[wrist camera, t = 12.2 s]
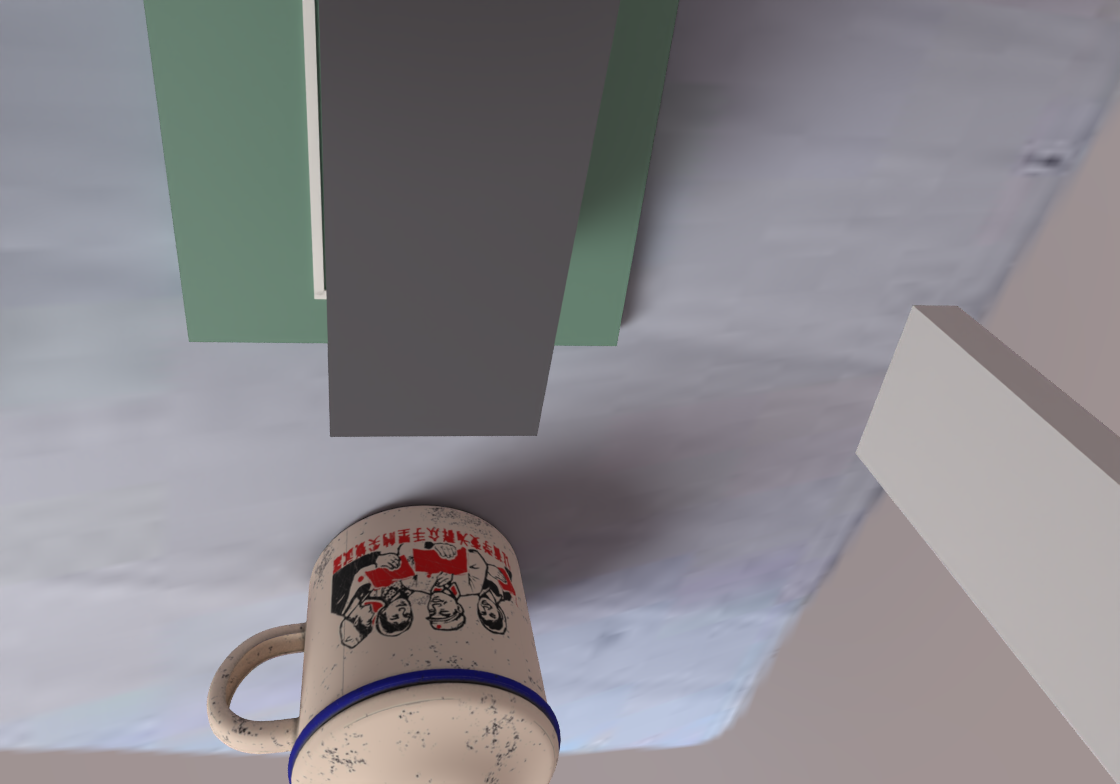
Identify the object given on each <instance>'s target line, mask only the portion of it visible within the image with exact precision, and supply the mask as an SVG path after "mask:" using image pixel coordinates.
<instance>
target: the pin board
mask: <svg viewBox="0 0 1120 784" xmlns="http://www.w3.org/2000/svg"><path fill="white" fill-rule="evenodd" d="M678 3H679V0H620V5H619V11H618V16H617V21H616V26H615V31H614V37H613V42H612V47H611V52H610V57H609V63H608V68H607V73H606V78H605V83H604V89H603V94H602V99H601V104H600V109H599V115H598V120H597V125H596V130H595V135H594V141H593V146H592V151H591V156H590V162H589V167H588V172H587V177H586V182H585V188H584V193H583V198H582V203H581V208H580V214H579V219H578V224H577V229H576V234H575V240H574V245H573V250H572V255H571V260H570V266H569V271H568V276H567V281H566V286H565V292H564V297H563V302H562V307H561V312H560V318H559V323H558V328H557V333H556V339H555V344H554V345H563V346H617V341H618V336H619V330H620V325H621V319H622V313H623V308H624V302H625V297H626V291H627V286H628V280H629V275H630V269H631V264H632V258H633V253H634V247H635V241H636V236H637V230H638V225H639V219H640V214H641V208H642V203H643V197H644V192H645V186H646V181H647V175H648V169H649V164H650V158H651V153H652V147H653V142H654V136H655V131H656V125H657V120H658V114H659V109H660V103H661V97H662V92H663V86H664V81H665V75H666V70H667V64H668V59H669V53H670V48H671V42H672V37H673V31H674V25H675V20H676V14H677V9H678ZM144 8H145V15H146V23H147V30H148V38H149V45H150V53H151V60H152V68H153V75H154V83H155V90H156V98H157V105H158V113H159V120H160V128H161V135H162V143H163V150H164V158H165V165H166V173H167V180H168V188H169V195H170V203H171V210H172V218H173V225H174V233H175V240H176V248H177V255H178V263H179V270H180V278H181V285H182V293H183V300H184V308H185V315H186V323H187V330H188V338H189V342H253V343H328V335H327V297H326V259H325V220H324V182H323V144H322V105H321V67H320V29H319V0H144Z"/></svg>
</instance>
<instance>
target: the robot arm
mask: <svg viewBox="0 0 1120 784" xmlns="http://www.w3.org/2000/svg"><path fill="white" fill-rule="evenodd" d="M856 454H857V456H858V457H859V458H860V459H861V461H862V462H863V463H864V464H865V466H866V467H867V468H868V469H869V471H870V472H871V473H872V475H873V476H874V477H875V478H876V480H877V481H878V482H879V483H880V485H881V486H882V487H883V488H884V490H885V491H886V492H887V494H888V495H889V496H890V497H891V498H892V500H893V501H894V502H895V504H896V505H897V506H898V507H899V509H900V510H901V511H902V512H903V514H904V515H905V516H906V518H907V519H908V520H909V521H910V523H911V524H912V525H913V526H914V528H915V529H916V530H917V531H918V533H919V534H920V535H921V537H922V538H923V539H924V540H925V542H926V543H927V544H928V545H929V547H930V548H931V549H932V550H933V552H934V553H935V554H936V555H937V557H938V558H939V559H940V560H941V562H942V563H943V564H944V566H945V567H946V568H947V569H948V571H949V572H950V573H951V574H952V575H953V577H954V578H955V579H956V581H957V582H958V583H959V584H960V586H961V587H962V588H963V590H964V591H965V592H966V593H967V595H968V596H969V597H970V598H971V600H972V601H973V602H974V604H975V605H976V606H977V607H978V609H979V610H980V611H981V612H982V613H983V615H984V616H985V617H986V619H987V620H988V621H989V623H990V624H991V625H992V626H993V628H994V629H995V630H996V631H997V633H998V634H999V635H1000V636H1001V638H1002V639H1003V640H1004V641H1005V643H1006V644H1007V645H1008V647H1009V648H1010V649H1011V650H1012V652H1013V653H1014V654H1015V655H1016V657H1017V658H1018V659H1019V660H1020V662H1021V663H1022V664H1023V665H1024V667H1025V668H1026V669H1027V671H1028V672H1029V673H1030V674H1031V676H1032V677H1033V678H1034V679H1035V681H1036V682H1037V683H1038V685H1040V687H1041V688H1042V690H1043V691H1044V692H1045V693H1046V695H1047V696H1048V697H1049V698H1050V700H1051V701H1052V702H1053V703H1054V705H1055V706H1056V707H1057V708H1058V710H1059V711H1060V712H1061V714H1062V715H1063V716H1064V717H1065V719H1066V720H1067V721H1068V722H1069V724H1070V725H1071V726H1072V727H1073V729H1074V730H1075V731H1076V733H1077V734H1078V735H1079V736H1080V738H1081V739H1082V740H1083V741H1084V743H1085V744H1086V745H1087V746H1088V748H1089V749H1090V750H1091V751H1092V753H1093V754H1094V755H1095V757H1096V758H1097V759H1098V760H1099V762H1100V763H1101V764H1102V765H1103V767H1104V768H1105V769H1106V771H1107V772H1108V773H1109V774H1110V776H1111V777H1112V778H1113V779H1114V781H1115V782H1116V783H1117V784H1120V437H1119V436H1118V435H1116V434H1115V433H1114V432H1113V431H1112V430H1110V429H1109V428H1108V427H1107V426H1105V425H1104V424H1103V423H1102V422H1100V421H1099V420H1098V419H1097V418H1095V417H1094V416H1093V415H1092V414H1090V413H1089V412H1088V411H1087V410H1086V409H1084V408H1083V407H1082V406H1080V405H1079V404H1078V403H1077V402H1076V401H1074V400H1073V399H1072V398H1071V397H1069V396H1068V395H1067V394H1066V393H1065V392H1063V391H1062V390H1061V389H1060V388H1058V387H1057V386H1056V385H1055V384H1053V383H1052V382H1051V381H1050V380H1048V379H1047V378H1046V377H1045V376H1043V375H1042V374H1041V373H1040V372H1038V371H1037V370H1036V369H1035V368H1033V367H1032V366H1031V365H1030V364H1029V363H1027V362H1026V361H1025V360H1024V359H1022V358H1021V357H1020V356H1019V355H1018V354H1016V353H1015V352H1014V351H1012V350H1011V349H1010V348H1009V347H1007V346H1006V345H1005V344H1004V343H1003V342H1001V341H1000V340H999V339H998V338H996V337H995V336H994V335H993V334H991V333H990V332H989V331H988V330H987V329H985V328H984V327H983V326H982V325H980V324H979V323H978V322H977V321H975V320H974V319H973V318H972V317H970V316H969V315H968V314H967V313H966V312H964V311H963V310H962V309H961V308H959V307H958V306H926V305H913V306H912V309H911V312H910V314H909V317H908V319H907V322H906V324H905V327H904V330H903V332H902V335H901V337H900V340H899V342H898V345H897V348H896V350H895V353H894V355H893V358H892V360H891V363H890V366H889V368H888V371H887V373H886V376H885V378H884V381H883V384H882V386H881V389H880V391H879V394H878V396H877V399H876V402H875V404H874V407H873V409H872V412H871V415H870V417H869V420H868V422H867V425H866V427H865V430H864V433H863V435H862V438H861V440H860V443H859V445H858V448H857V451H856Z"/></svg>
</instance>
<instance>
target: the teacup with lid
mask: <svg viewBox="0 0 1120 784" xmlns="http://www.w3.org/2000/svg"><path fill="white" fill-rule="evenodd" d="M301 652H304V662H303V676H302V689H301V702H300V716H299V717H298V718H292V719H283V720H274V721H251V720H247V719H244V718H241V717H239V716H238V715H236V714H235V713H233V712H232V711H231V710H230V709H229V707H230V703H231V700H232V697H233V695H234V693H235V691H236V689H237V688H238V686H239V684H240V683H241V682H242V680H243V679H244V678H245V677H246V676H247V675H248V674H249V673H250V672H251V671H252V670H253V669H254V668H256V667H257V666H258V665H260V664H262V663H263V662H265V661H267V660H269V659H272V658H275V657H278V656H282V655H287V654H293V653H301ZM207 713H208V719H209V723H210V726H211V728H212V731H213V733H214V734H215V735H216V736H217V738H218V739H220V740H221V741H222V742H223V743H224V744H226V745H227V746H229V747H231V748H233V749H235V750H237V751H241V752H245V753H251V754H269V753H279V752H287V751H291V754H290V757H289V764H288V778H289V783H290V784H549V782H550V780H551V778H552V776H553V773H554V771H555V768H556V765H557V761H558V755H559V750H560V742H561V738H560V729H559V724H558V721H557V719H556V716H555V714H554V712H553V711H552V709H551V707H550V706H549V705H548V704H547V700H546V695H545V691H544V686H543V681H542V676H541V671H540V666H539V661H538V657H537V652H536V647H535V642H534V637H533V632H532V627H531V623H530V618H529V613H528V608H527V603H526V598H525V593H524V588H523V584H522V579H521V574H520V569H519V565H518V560H517V558H516V555H515V552H514V550H513V549H512V547H511V545H510V544H509V542H508V541H507V539H506V538H505V537H504V536H503V535H502V534H501V533H500V532H499V531H498V530H497V529H496V528H494V527H493V526H492V525H490V524H489V523H488V522H486V521H484V520H482V519H481V518H479V517H477V516H474V515H472V514H470V513H467V512H464V511H460V510H456V509H452V508H447V507H440V506H408V507H401V508H395V509H391V510H387V511H384V512H380V513H377V514H375V515H372V516H369V517H367V518H365V519H363V520H361V521H359V522H357V523H355V524H353V525H352V526H350V527H348V528H347V529H346V530H344V531H343V532H341V533H340V534H339V535H338V536H337V537H336V538H334V539H333V540H332V541H331V542H330V544H329V545H328V546H327V547H326V548H325V550H324V551H323V552H322V553H321V555H320V557H319V558H318V560H317V562H316V564H315V566H314V568H313V571H312V575H311V578H310V584H309V596H308V609H307V621H306V622H305V623H299V624H291V625H285V626H279V627H275V628H271V629H268V630H265V631H262V632H260V633H258V634H256V635H254V636H252V637H250V638H249V639H247V640H246V641H244V642H243V643H241V644H240V645H239V646H238V647H237V648H236V649H234V650H233V651H232V652H231V653H230V654H229V656H228V657H227V658H226V659H225V660H224V662H223V663H222V664H221V666H220V667H219V669H218V670H217V672H216V674H215V676H214V678H213V680H212V683H211V686H210V689H209V692H208V697H207Z"/></svg>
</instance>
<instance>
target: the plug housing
mask: <svg viewBox="0 0 1120 784" xmlns="http://www.w3.org/2000/svg"><path fill="white" fill-rule="evenodd" d="M619 5H620V0H319V29H320V67H321V105H322V144H323V182H324V220H325V259H326V297H327V335H328V374H329V412H330V437H370V436H537V432H538V427H539V422H540V417H541V411H542V406H543V401H544V396H545V391H546V385H547V380H548V375H549V370H550V365H551V359H552V354H553V349H554V344H555V339H556V333H557V328H558V323H559V318H560V312H561V307H562V302H563V297H564V292H565V286H566V281H567V276H568V271H569V266H570V260H571V255H572V250H573V245H574V240H575V234H576V229H577V224H578V219H579V214H580V208H581V203H582V198H583V193H584V188H585V182H586V177H587V172H588V167H589V162H590V156H591V151H592V146H593V141H594V135H595V130H596V125H597V120H598V115H599V109H600V104H601V99H602V94H603V89H604V83H605V78H606V73H607V68H608V63H609V57H610V52H611V47H612V42H613V37H614V31H615V26H616V21H617V16H618V11H619Z"/></svg>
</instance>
